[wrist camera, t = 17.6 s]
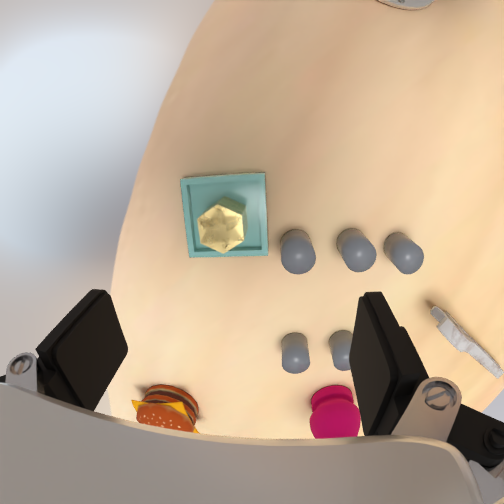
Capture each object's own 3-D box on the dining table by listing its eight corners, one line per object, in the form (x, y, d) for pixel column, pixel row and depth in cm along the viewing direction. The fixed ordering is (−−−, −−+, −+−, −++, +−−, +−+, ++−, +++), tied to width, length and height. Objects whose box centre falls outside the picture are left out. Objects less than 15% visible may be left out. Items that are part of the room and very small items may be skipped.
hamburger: (186, 381, 40) (175, 414, 33) (207, 418, 43) (200, 450, 37) (134, 382, 41) (120, 412, 35) (159, 418, 44) (149, 446, 38)
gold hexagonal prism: (205, 197, 29) (195, 206, 25) (244, 194, 29) (240, 202, 25) (210, 241, 31) (202, 255, 27) (248, 238, 30) (245, 252, 27)
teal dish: (184, 177, 29) (180, 179, 28) (264, 172, 28) (264, 173, 27) (193, 252, 32) (189, 257, 31) (268, 250, 31) (267, 255, 30)
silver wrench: (485, 361, 39) (415, 301, 32) (491, 354, 39) (425, 290, 31) (504, 389, 32) (447, 342, 24) (511, 381, 31) (459, 330, 24)
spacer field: (280, 229, 30) (280, 242, 27) (410, 227, 29) (426, 239, 25) (281, 352, 36) (281, 373, 32) (389, 345, 35) (398, 364, 31)
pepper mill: (297, 402, 40) (301, 522, 21) (331, 375, 37) (351, 505, 19) (331, 417, 41) (344, 525, 22) (364, 392, 38) (391, 506, 20)
